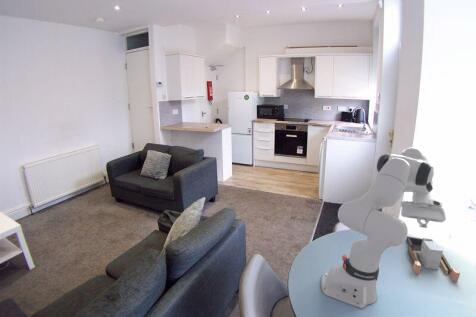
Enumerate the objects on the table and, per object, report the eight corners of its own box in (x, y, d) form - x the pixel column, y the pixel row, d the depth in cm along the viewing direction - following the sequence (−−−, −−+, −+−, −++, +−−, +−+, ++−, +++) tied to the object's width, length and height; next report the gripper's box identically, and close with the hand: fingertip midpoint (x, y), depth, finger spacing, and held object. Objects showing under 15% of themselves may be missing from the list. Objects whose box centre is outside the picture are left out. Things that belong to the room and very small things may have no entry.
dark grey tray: (409, 250, 146) (410, 245, 146) (405, 240, 155) (406, 236, 154) (436, 254, 143) (437, 249, 142) (430, 245, 151) (431, 240, 150)
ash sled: (417, 268, 132) (421, 252, 130) (410, 251, 145) (413, 236, 142) (447, 274, 129) (451, 257, 126) (437, 256, 141) (441, 240, 139)
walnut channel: (414, 268, 133) (415, 262, 132) (407, 251, 146) (408, 246, 145) (450, 275, 128) (452, 270, 127) (440, 257, 141) (441, 252, 140)
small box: (438, 270, 132) (443, 251, 129) (425, 268, 133) (430, 249, 130) (430, 259, 139) (435, 241, 136) (418, 258, 140) (422, 240, 137)
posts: (414, 273, 129) (416, 264, 128) (412, 269, 132) (414, 260, 130) (457, 282, 124) (460, 273, 122) (454, 278, 127) (457, 268, 125)
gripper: (402, 198, 154) (403, 222, 148) (445, 203, 147) (448, 229, 142) (399, 202, 159) (399, 225, 153) (440, 207, 153) (443, 232, 147)
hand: (423, 227), depth 147 cm, fingers closed
